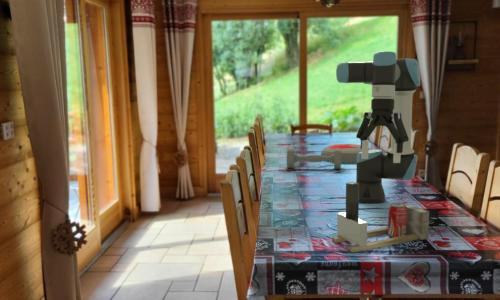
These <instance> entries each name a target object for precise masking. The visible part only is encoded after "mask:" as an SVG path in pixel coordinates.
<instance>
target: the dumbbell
mask: <svg viewBox="0 0 500 300" xmlns="http://www.w3.org/2000/svg"><path fill="white" fill-rule="evenodd" d="M300 161H301V162H307V163H321V162H329V161H330V162H329V163H331V164H333V169H334V170H341V169H342V168H341V167H342V163H341V149H339V148H335V149H334V154H332V155H331V156H321V154H320V155H319V154H307V155H298V153H296V150H295V148H294V147H288V148H287V151H286V168H288V169H294V168H295V166H296V163H298V162H300Z"/></svg>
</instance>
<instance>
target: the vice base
mask: <svg viewBox="0 0 500 300" xmlns="http://www.w3.org/2000/svg"><path fill="white" fill-rule="evenodd" d="M398 203H403V204H405V205H406V208H407V222H406V235H405V236H399V237H394V238H393V237H389V238H385V239H380V240H373V241H370V242H368V241H367V245H366V246H361V247H359V246H357V245H355V244H353V245H349V246H348V252H349V253H357V252H362V251H368V250H372V249H377V248H382V247H386V246H393V245H397V244H401V243H407V242H411V241H412V242H413V241H417V240H421V241H422V240H427V239H429V226H430V225H429V223H430V211H429V210H426V209H422V208H421V207H418V206H417V207H416V206H414V205H411V204H408V203H405V202H403V201H400V202H398ZM385 234H388V226H387V227H379V228H374V229H367V238H369V237H373V236H379V235H385ZM331 241H332V242H333V243H341V242H347V241H348V240H346V239H344V238H342V237H341V236H339V235H336V236H332V237H331Z"/></svg>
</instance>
